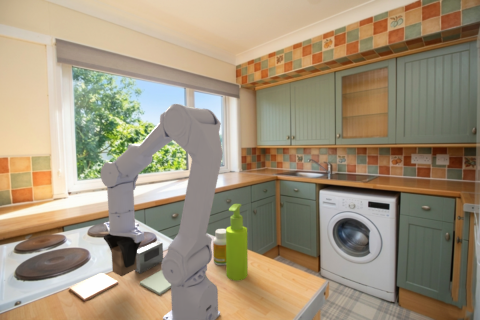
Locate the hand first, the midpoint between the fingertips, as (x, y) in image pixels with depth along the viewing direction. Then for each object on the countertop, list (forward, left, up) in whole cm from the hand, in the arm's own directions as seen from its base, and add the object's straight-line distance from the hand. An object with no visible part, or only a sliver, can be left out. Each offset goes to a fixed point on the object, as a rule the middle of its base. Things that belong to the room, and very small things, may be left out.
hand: (124, 263), depth 60 cm
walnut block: (0, 0, -2) cm, 2 cm away
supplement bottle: (-12, -24, -7) cm, 28 cm away
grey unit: (+4, -10, -7) cm, 13 cm away
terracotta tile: (+8, +4, -7) cm, 11 cm away
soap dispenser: (-20, -20, -7) cm, 29 cm away
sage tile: (-5, -7, -7) cm, 11 cm away
